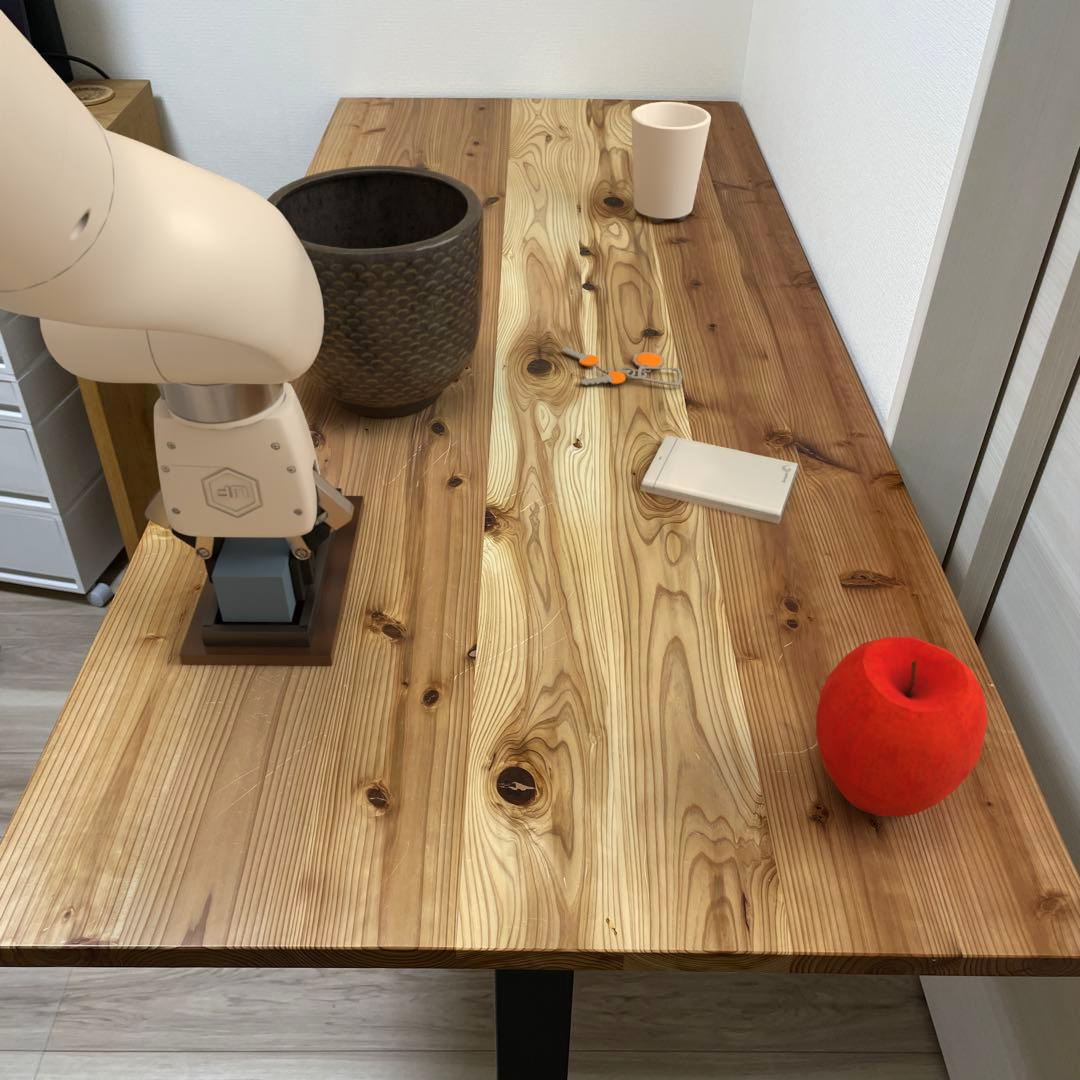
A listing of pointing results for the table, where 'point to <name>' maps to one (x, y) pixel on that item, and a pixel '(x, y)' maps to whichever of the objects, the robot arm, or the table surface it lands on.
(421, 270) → the planter
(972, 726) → the apple
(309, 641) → the backing board
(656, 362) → the key chain
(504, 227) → the table surface
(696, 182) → the cup
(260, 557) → the blue-grey rectangular block
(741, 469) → the hard drive
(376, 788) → the table surface
